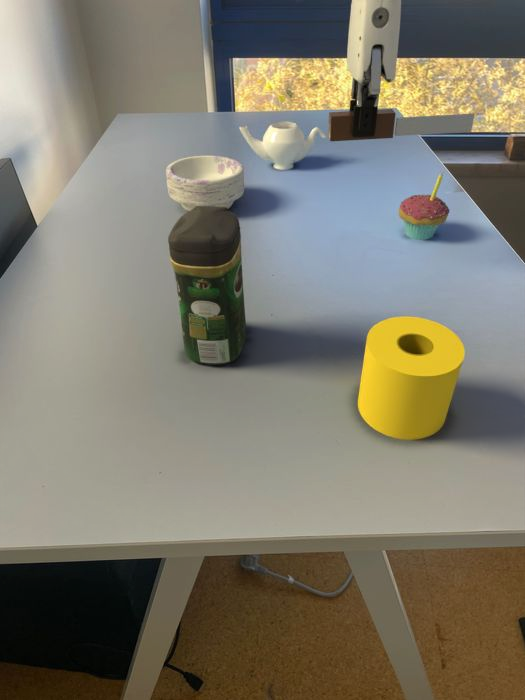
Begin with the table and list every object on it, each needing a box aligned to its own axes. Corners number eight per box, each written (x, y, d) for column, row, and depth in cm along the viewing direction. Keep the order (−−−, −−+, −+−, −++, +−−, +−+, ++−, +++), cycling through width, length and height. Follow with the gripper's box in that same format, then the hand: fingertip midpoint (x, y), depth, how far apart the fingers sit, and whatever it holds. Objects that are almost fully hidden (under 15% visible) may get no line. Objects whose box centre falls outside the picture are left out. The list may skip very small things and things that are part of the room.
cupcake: (448, 230, 95) (463, 165, 87) (435, 249, 89) (450, 182, 82) (403, 220, 98) (414, 157, 91) (387, 238, 93) (397, 172, 85)
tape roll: (355, 434, 57) (365, 370, 51) (359, 374, 65) (367, 312, 59) (449, 445, 56) (470, 381, 50) (441, 383, 63) (459, 321, 57)
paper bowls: (257, 197, 108) (256, 159, 103) (223, 227, 97) (220, 186, 92) (194, 186, 113) (190, 149, 108) (155, 214, 103) (149, 174, 98)
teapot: (328, 172, 118) (330, 130, 113) (241, 175, 118) (239, 132, 112) (322, 158, 126) (324, 117, 120) (240, 160, 125) (239, 120, 120)
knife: (330, 141, 74) (331, 116, 71) (328, 136, 75) (329, 112, 73) (473, 133, 74) (478, 108, 71) (468, 129, 75) (473, 104, 73)
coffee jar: (196, 322, 74) (181, 198, 62) (250, 326, 73) (245, 200, 61) (177, 366, 67) (156, 234, 55) (238, 371, 66) (229, 238, 54)
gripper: (426, -22, 56) (400, 150, 68) (392, -30, 69) (375, 116, 80) (357, -20, 56) (343, 152, 68) (336, -29, 69) (327, 118, 80)
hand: (361, 131), depth 74 cm, fingers closed on knife, 2 cm apart
